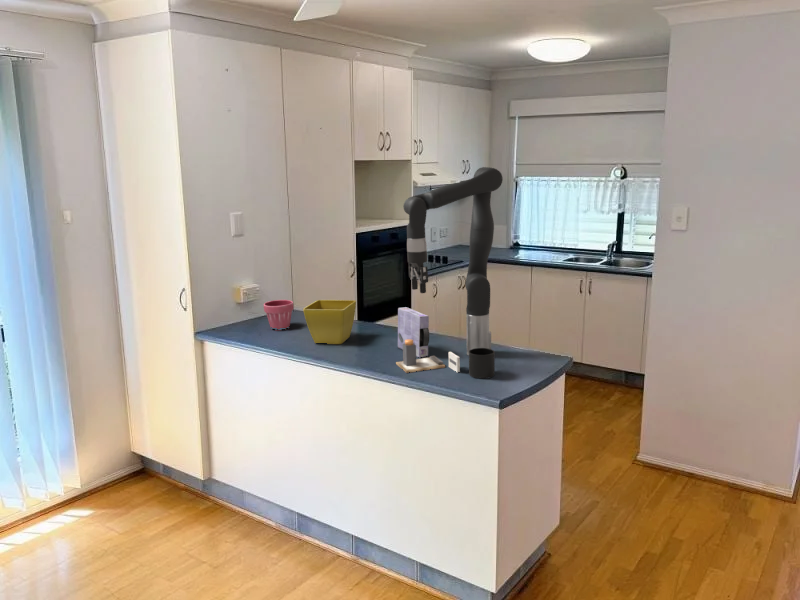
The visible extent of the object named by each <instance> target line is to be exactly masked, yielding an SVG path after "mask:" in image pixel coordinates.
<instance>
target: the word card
mask: <svg viewBox="0 0 800 600" xmlns="http://www.w3.org/2000/svg"><path fill="white" fill-rule="evenodd" d="M460 358H461V357H460V356H459V355H457V354H455V353H454V352H452V351H448V368H450V369H451V370H452V371H453V372H455V371H456V372H455V373H457V374H458V372H460V373H461V370H460V369H461V366H460V364H461V361H460Z"/></svg>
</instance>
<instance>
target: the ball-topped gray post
mask: <svg viewBox="0 0 800 600" xmlns="http://www.w3.org/2000/svg"><path fill="white" fill-rule="evenodd" d="M416 359H417V356H416V345H415V344H414V343H413V340H412V339H407V340H405V343H404V344H403V350H402V361H403V364H405V365H406V366H411V365H416Z"/></svg>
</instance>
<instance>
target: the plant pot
mask: <svg viewBox="0 0 800 600" xmlns="http://www.w3.org/2000/svg"><path fill="white" fill-rule="evenodd" d="M294 308H295V307H294V302H293V300H289V299H276V300H269V301H265V302H264V303H263V312H264V313H265V314H266V317H267V318H266V319H267V320H268V323H269V326H270V328H271V327H272V328H277V329H280V328H287V327H289V326H290V325H291V320H292V314H293V313H292V312H293V311H294ZM289 328H290V327H289Z"/></svg>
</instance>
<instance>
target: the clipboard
mask: <svg viewBox="0 0 800 600" xmlns="http://www.w3.org/2000/svg"><path fill="white" fill-rule="evenodd" d="M395 364H396V366H397V367H399V368H400V369H401V370H402V369H403V371H404V372H405V373H406V374H408V373H409V372H410V373H415V372H416V371H417V372H422V371H423V370H424V371H428V370H430V369H431V370H436V369H437V370H438V369H444V368H446V364H444V361H443V360H441V359H440V358H438V357H437V356H436V355H431V356H429V357H422V358H416V365H411V366H406V365H405V364H403V360H402V361H396V362H395ZM410 373H409V374H410Z"/></svg>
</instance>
